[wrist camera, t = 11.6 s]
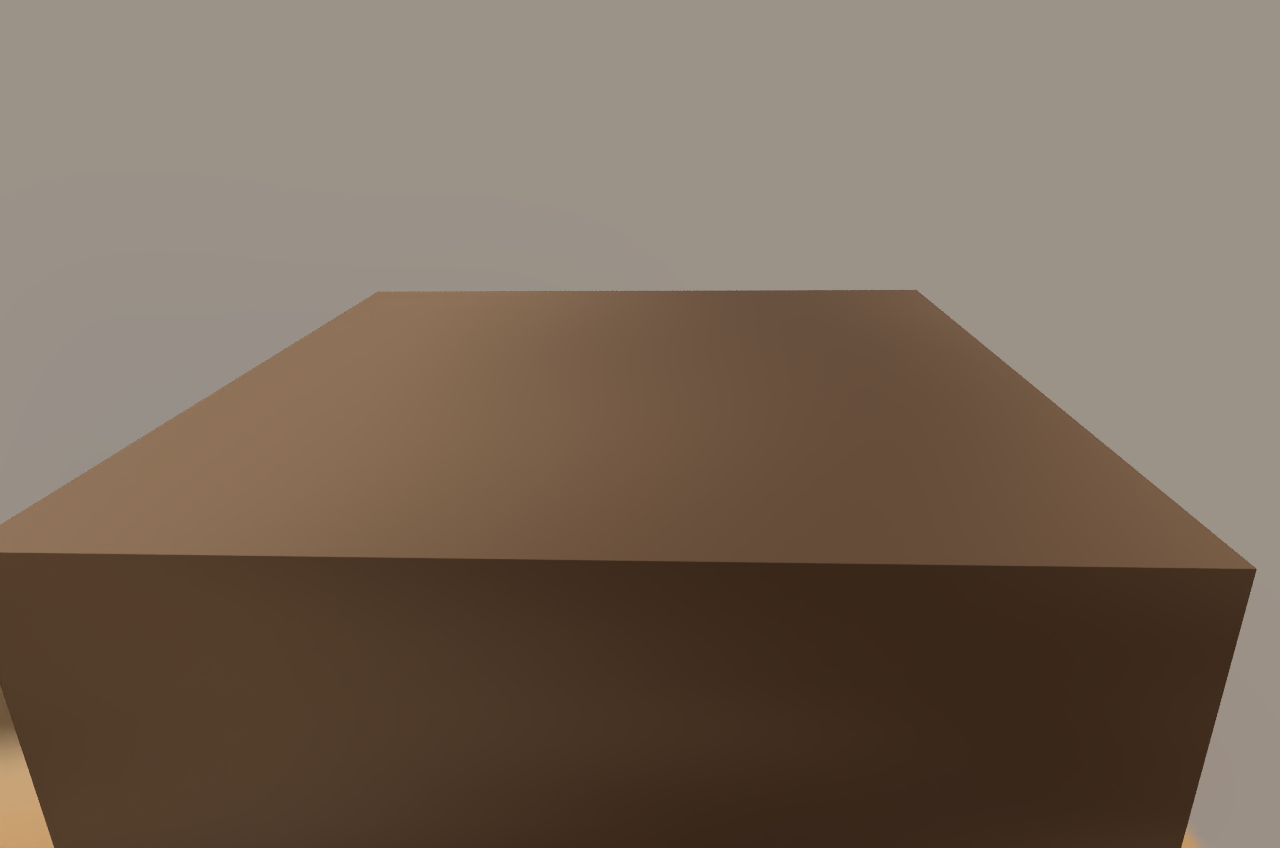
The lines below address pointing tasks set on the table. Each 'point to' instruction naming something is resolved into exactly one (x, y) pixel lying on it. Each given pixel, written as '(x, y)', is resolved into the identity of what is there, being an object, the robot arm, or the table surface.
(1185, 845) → the table surface
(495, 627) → the walnut block
